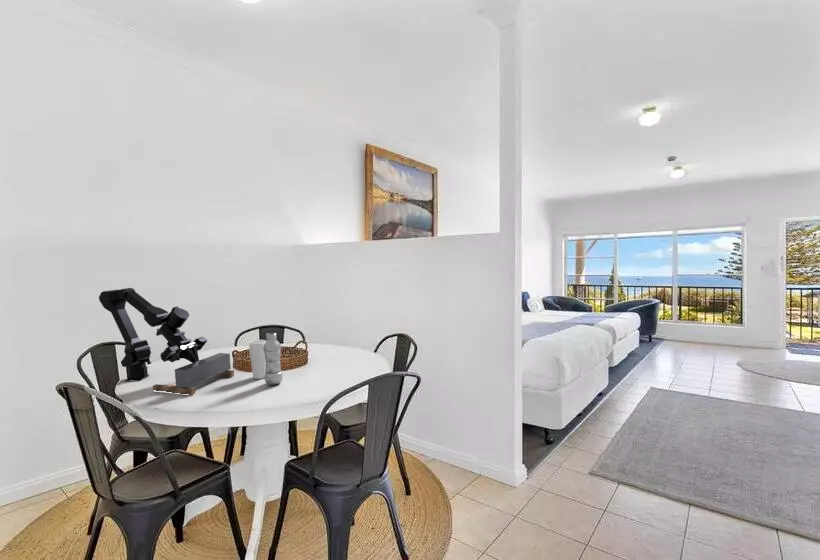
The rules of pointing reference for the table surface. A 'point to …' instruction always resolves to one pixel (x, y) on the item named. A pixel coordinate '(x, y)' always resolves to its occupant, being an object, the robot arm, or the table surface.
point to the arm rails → (188, 390)
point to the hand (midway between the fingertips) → (198, 364)
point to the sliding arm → (202, 370)
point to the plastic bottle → (272, 360)
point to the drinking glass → (257, 358)
